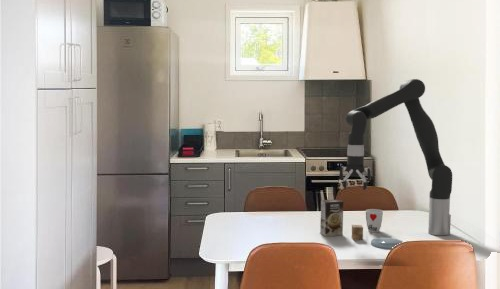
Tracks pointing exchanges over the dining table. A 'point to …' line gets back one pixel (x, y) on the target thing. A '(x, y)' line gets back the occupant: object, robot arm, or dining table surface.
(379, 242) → the dish
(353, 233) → the block
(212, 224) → the dining table surface
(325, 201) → the coffee box
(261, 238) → the dining table surface
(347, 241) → the dining table surface
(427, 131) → the robot arm
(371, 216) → the cup
